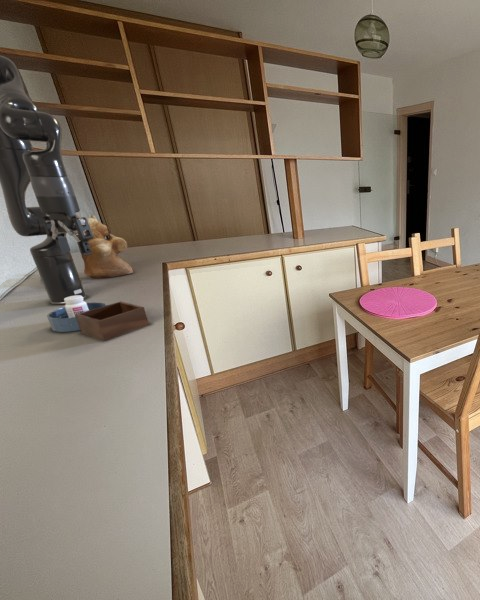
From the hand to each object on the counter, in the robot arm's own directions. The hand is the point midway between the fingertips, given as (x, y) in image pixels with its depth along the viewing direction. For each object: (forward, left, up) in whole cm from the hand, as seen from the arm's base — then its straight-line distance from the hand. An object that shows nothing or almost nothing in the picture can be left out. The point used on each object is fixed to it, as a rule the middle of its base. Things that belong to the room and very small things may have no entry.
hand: (76, 253), depth 91 cm
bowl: (-4, -3, -22) cm, 23 cm away
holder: (+9, -1, -22) cm, 24 cm away
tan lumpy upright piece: (-56, +29, -23) cm, 68 cm away
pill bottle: (-4, -3, -22) cm, 23 cm away
